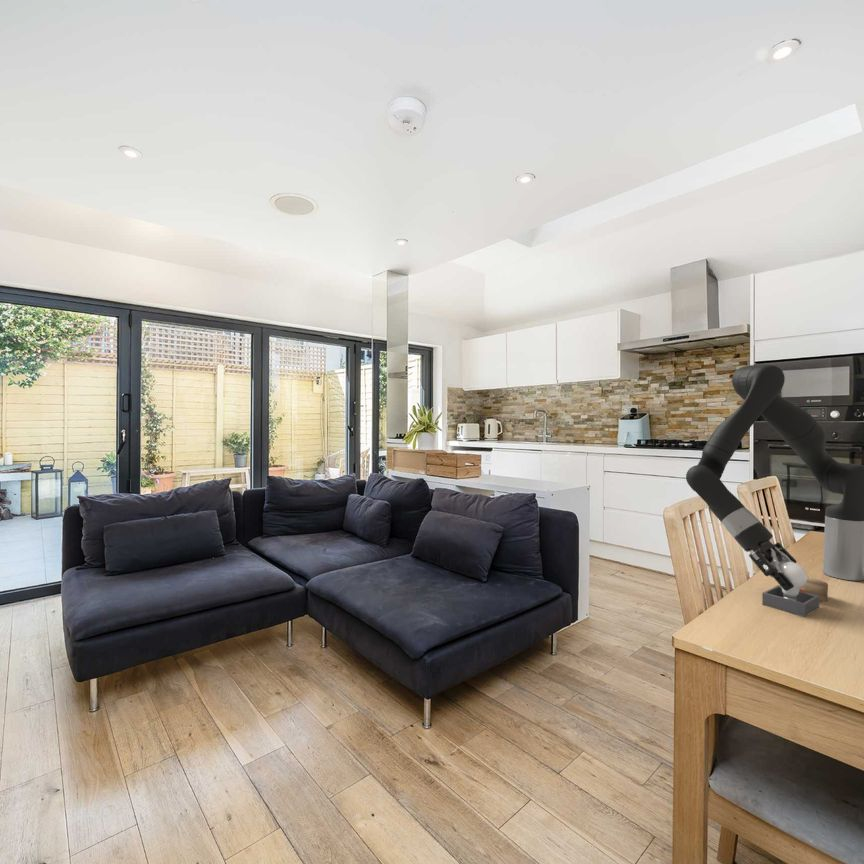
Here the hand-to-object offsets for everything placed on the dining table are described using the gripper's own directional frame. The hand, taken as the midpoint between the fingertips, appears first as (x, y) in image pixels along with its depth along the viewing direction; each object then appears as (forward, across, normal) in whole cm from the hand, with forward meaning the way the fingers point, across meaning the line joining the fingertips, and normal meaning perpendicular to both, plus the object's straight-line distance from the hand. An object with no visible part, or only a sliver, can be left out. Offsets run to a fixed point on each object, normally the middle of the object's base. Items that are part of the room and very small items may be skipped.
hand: (797, 585), depth 115 cm
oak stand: (+3, +12, +5) cm, 13 cm away
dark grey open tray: (+3, 0, +5) cm, 6 cm away
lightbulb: (+3, 0, +5) cm, 6 cm away
